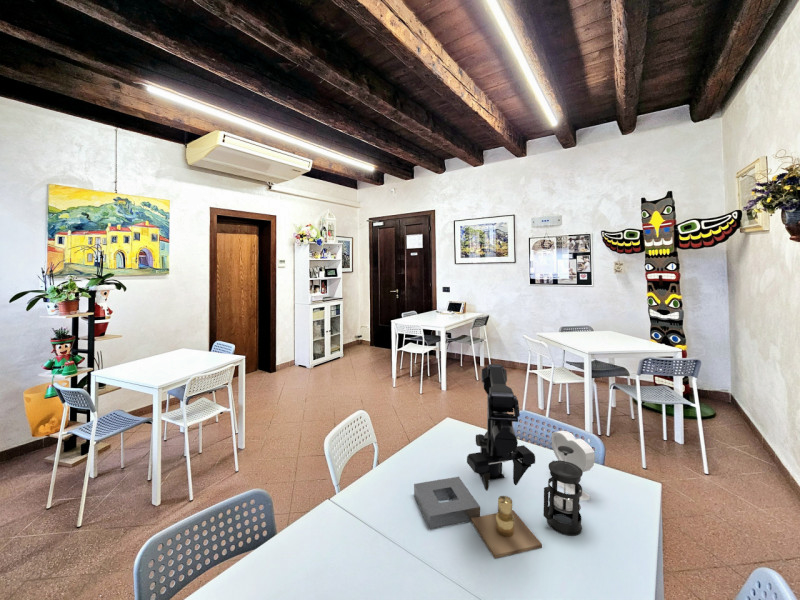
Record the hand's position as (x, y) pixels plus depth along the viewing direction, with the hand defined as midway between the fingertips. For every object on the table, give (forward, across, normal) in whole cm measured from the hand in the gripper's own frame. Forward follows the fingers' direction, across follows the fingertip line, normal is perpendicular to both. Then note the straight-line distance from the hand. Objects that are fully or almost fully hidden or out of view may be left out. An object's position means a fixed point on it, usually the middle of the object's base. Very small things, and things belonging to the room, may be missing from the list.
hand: (500, 487), depth 98 cm
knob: (+12, 0, +2) cm, 12 cm away
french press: (+13, -18, +3) cm, 23 cm away
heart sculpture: (+13, -33, -11) cm, 37 cm away
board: (+13, 0, +2) cm, 13 cm away
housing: (+13, +12, -13) cm, 22 cm away
